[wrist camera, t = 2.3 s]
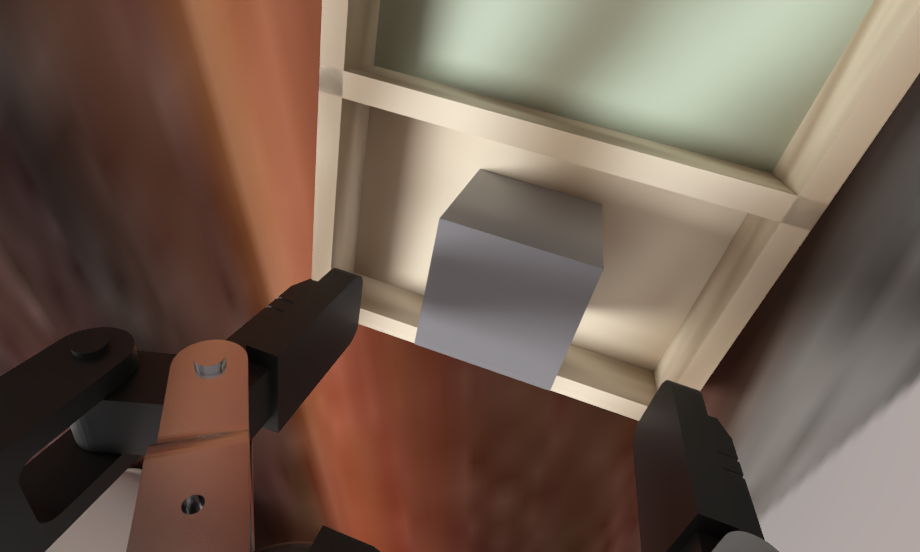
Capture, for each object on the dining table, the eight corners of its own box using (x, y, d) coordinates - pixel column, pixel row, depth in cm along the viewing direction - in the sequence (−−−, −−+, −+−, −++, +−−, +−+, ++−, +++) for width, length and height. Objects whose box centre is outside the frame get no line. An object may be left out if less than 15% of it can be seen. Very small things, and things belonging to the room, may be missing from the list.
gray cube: (455, 271, 19) (414, 343, 14) (480, 168, 16) (439, 218, 12) (561, 306, 18) (550, 390, 14) (601, 203, 16) (603, 269, 12)
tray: (344, 273, 21) (310, 307, 19) (392, -295, 12) (337, -381, 9) (661, 379, 20) (671, 432, 17) (1011, -190, 10) (1150, -261, 8)
